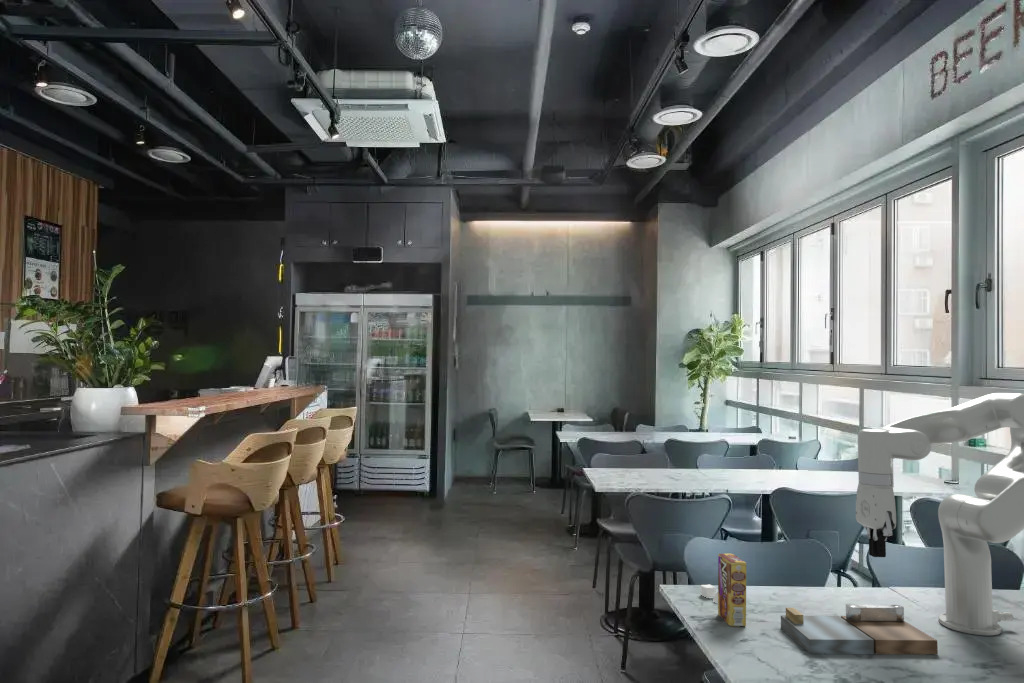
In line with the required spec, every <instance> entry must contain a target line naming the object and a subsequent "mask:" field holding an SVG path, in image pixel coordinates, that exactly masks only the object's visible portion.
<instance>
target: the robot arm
mask: <svg viewBox="0 0 1024 683" xmlns="http://www.w3.org/2000/svg"><path fill="white" fill-rule="evenodd" d="M1002 428H1009V433H1010V442H1011V444H1010V449H1009V451H1008V453H1007V454H1006V455H1005V456H1004V457H1003V458H1002V459H1001V460H1000V461H998V462H997V463H995V465H993V466H992V467H991V468H989V469H988V470H987V471H985V472H984V473H983V474H981V476H980V477H978V479H977V480H976V482H975V484H974V493H975V496H972V495H968V494H963V493H962V494H961V493H958V494H957V493H955V494H951V495H948V496H946V497H944V498H943V499H942V500H941V501H940V503H939V506H938V508H937V509H938V510H937V516H938V522H939V525H940V530H941V535H942V540H943V542H942V543H943V558H944V559H943V562H944V563H943V564H944V565H943V566H944V567H943V568H944V593H945V594H944V596H945V597H944V598H945V600H944V601H945V613H940V614H939V615H938V623H940V624H941V625H942V626H943V627H946V628H948V629H950V630H953V631H957V632H959V633H965V634H969V635H976V636H977V635H978V636H986V637H987V636H997V635H1000V634H1001V633H1002V626H1001V625H1000V624H999V623H1000V622H1001V621H1003V622H1013V620H1014V616H1013V614H1012V613H1011V612H1007V611H1006V612H1004V611H1003V612H1000V611H999V610H998V609H996V610H995V609H993V585H992V582H993V580H992V579H993V578H992V556H991V551H990V547H989V544H988V542H989V543H994V544H1001V543H1005V542H1008V541H1010V540H1012V539H1013V538H1015V537H1016V536H1017V535H1018V534H1020V533H1021V532H1022V531H1024V393H1021V392H1020V393H1019V392H1018V393H1017V392H1014V393H1013V392H992V393H989V394H985V395H983V396H979V397H976V398H974V399H972V400H971V399H970V400H969V401H966V402H963V403H962V404H958V405H955V406H953V407H950V408H946V409H943V410H942V409H941V410H937V411H933V412H931V413H930V412H929V413H926V414H922V415H918V416H917V415H916V416H911V417H909V418H905V419H903V420H899V421H896V422H894V423H891V424H888V425H886V426H883V427H882V428H880V429H878V428H863V429H860V430H859V431H858V432H857V462H858V464H857V465H858V466H857V468H858V472H857V473H858V484H857V490H856V496H855V520H856V522H857V523H859V524H860V525H861V526H862V527H863V528H864V529H865V531H866V533H867V539H868V554H869V556H870V557H873V558H886V555H887V552H886V551H887V548H886V546H887V545H886V544H887V543H886V542H887V541H888V540H887V539H888V537H890V536H892V537H893V535H894V534H893V530H894V529H896V527H897V511H896V510H897V509H896V498H895V497H896V496H895V493H894V487H895V486H894V459H899V460H906V461H911V462H912V461H913V462H915V461H920V460H922V459H924V458H926V457H928V456H929V454H930V453H931V452H932V445H933V444H954V443H955V444H956V443H961V442H967V441H969V440H972V439H975V438H977V437H980V436H982V435H985V434H987V433H991V432H993V431H997V430H999V429H1002Z"/></svg>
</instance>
